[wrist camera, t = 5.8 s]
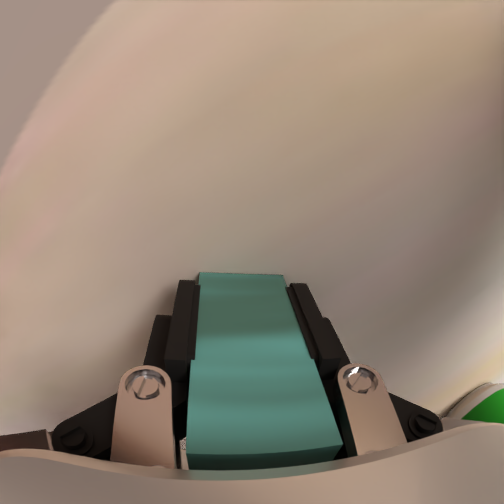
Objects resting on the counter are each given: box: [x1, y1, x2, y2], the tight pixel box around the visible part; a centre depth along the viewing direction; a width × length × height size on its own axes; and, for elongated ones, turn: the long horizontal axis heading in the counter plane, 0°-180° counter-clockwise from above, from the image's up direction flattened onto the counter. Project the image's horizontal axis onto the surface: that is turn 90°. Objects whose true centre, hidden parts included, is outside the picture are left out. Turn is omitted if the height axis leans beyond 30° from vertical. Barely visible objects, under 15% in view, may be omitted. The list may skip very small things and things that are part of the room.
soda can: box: [446, 383, 504, 424], centre depth 14 cm, size 8×8×12 cm
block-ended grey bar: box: [181, 272, 343, 471], centre depth 12 cm, size 19×6×7 cm, turn 175°
